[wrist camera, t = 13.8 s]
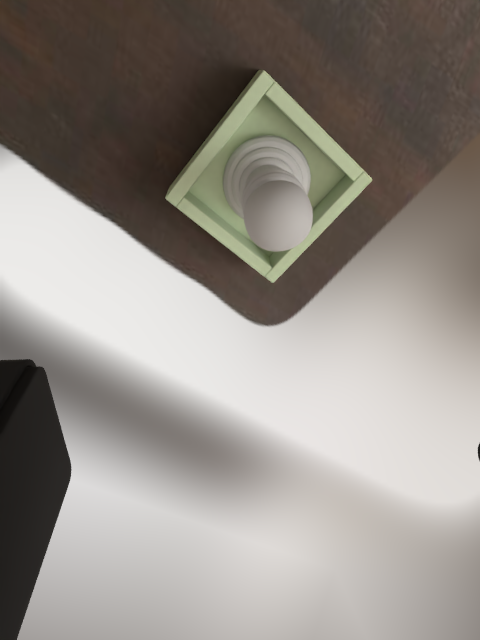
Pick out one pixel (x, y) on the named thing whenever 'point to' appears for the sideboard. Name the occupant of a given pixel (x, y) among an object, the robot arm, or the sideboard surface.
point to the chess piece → (270, 191)
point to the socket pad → (242, 125)
